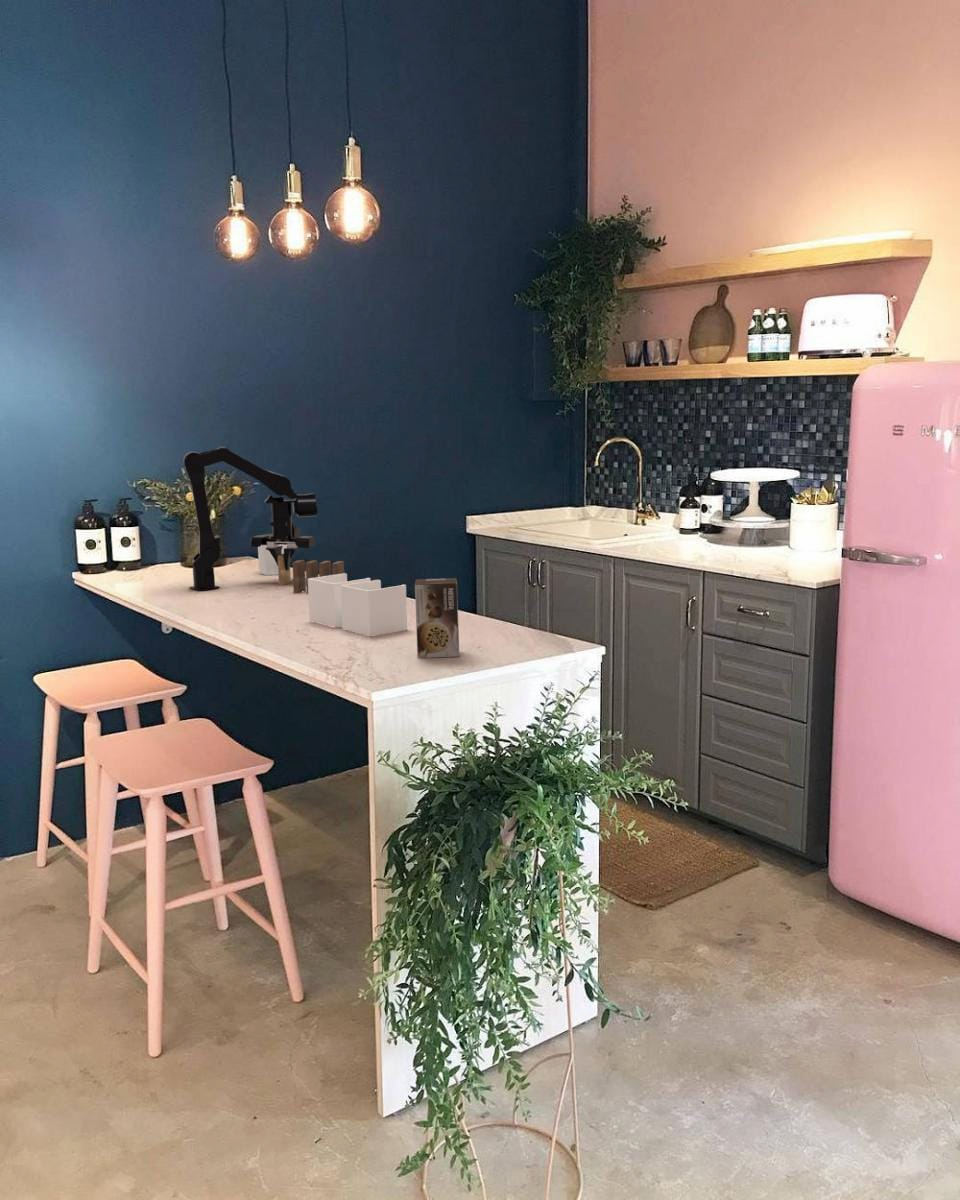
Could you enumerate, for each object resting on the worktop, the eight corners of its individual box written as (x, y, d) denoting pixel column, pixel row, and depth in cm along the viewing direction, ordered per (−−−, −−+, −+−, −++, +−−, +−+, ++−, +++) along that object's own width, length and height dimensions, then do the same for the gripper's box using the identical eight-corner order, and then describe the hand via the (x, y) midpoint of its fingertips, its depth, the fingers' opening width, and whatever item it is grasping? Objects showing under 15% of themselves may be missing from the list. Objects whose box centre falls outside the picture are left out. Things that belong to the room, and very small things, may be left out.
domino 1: (279, 585, 331) (277, 555, 329) (285, 582, 335) (284, 553, 334) (284, 585, 330) (282, 555, 329) (290, 582, 335) (289, 553, 333)
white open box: (309, 622, 277) (307, 578, 275) (345, 616, 284) (344, 573, 282) (370, 637, 259) (368, 591, 257) (407, 630, 266) (405, 585, 264)
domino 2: (293, 593, 317) (292, 562, 315) (300, 590, 321) (299, 560, 320) (299, 593, 316) (297, 562, 315) (305, 590, 321) (304, 560, 319)
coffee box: (458, 650, 244) (457, 577, 241) (459, 657, 238) (458, 582, 235) (417, 651, 244) (415, 578, 241) (416, 658, 237) (414, 583, 234)
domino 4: (320, 594, 315) (318, 563, 313) (326, 591, 319) (325, 560, 318) (325, 594, 314) (324, 563, 313) (331, 591, 319) (330, 560, 317)
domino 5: (333, 594, 314) (332, 563, 312) (339, 591, 318) (338, 561, 317) (338, 594, 313) (337, 563, 312) (345, 591, 318) (343, 561, 316)
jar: (269, 570, 358) (267, 533, 356) (292, 571, 356) (290, 534, 353) (254, 574, 350) (252, 536, 348) (277, 575, 347) (275, 537, 345)
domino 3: (306, 593, 316) (305, 562, 314) (313, 590, 320) (312, 560, 319) (312, 593, 315) (310, 563, 314) (318, 590, 320) (317, 560, 318)
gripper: (321, 515, 335) (324, 567, 337) (264, 514, 339) (267, 565, 342) (307, 519, 324) (309, 572, 327) (248, 518, 329) (250, 571, 331)
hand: (284, 570), depth 332 cm, fingers closed on domino 1, 2 cm apart
